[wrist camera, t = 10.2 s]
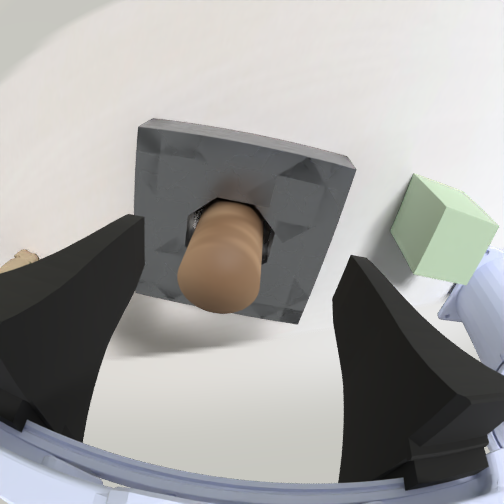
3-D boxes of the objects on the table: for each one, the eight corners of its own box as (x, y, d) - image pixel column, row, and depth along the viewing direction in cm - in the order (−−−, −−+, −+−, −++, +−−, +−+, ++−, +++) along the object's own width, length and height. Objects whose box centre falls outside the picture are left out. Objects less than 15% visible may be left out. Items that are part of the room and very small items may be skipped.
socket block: (347, 156, 18) (356, 169, 17) (296, 302, 25) (297, 324, 23) (152, 118, 18) (138, 126, 16) (145, 273, 24) (135, 292, 22)
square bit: (462, 191, 19) (499, 226, 15) (438, 243, 21) (466, 285, 17) (413, 172, 19) (446, 206, 15) (389, 230, 21) (413, 274, 17)
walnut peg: (272, 198, 20) (271, 262, 15) (254, 249, 23) (246, 321, 17) (211, 180, 20) (185, 237, 14) (198, 233, 22) (172, 300, 16)
